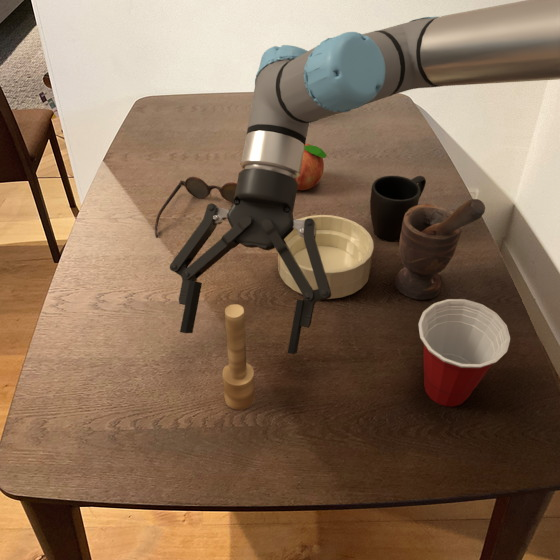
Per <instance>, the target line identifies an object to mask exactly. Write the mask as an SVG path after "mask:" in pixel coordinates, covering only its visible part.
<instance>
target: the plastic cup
mask: <svg viewBox="0 0 560 560" xmlns="http://www.w3.org/2000/svg"><path fill="white" fill-rule="evenodd" d="M417 325H418V331H419V338H420V341H421V342H422V343H423V384H424V391H425V393H426V395H427V397H428V398H429V399H430V400H431V401H433V402H434V403H436V404H438V405H440V406H444V407H453V408H454V407H457V406H460V405H462V404H463V403H464V402H465V401H466V400H467V399H469V398H470V396H471V395H472V394H473V392H474V390H475V389H476V388H477V387H478V386H479V384H480V383H481V381H482V380H483V378H484V377H485V375H486V374H487V373H488V372H489V370H490V368H491V367H492V366H493V365H494V364H496V363H497V362H498V361H499V360H500V359H501V358H503V356H504V355H505V354H506V353H508V350H509V346H510V342H511V335H510V332H509V329H508V325H507V324H506V323H505V321H504V320H503V319H502V318H501V317H500V315H499V314H498V313H497V312H495V311H494V310H492V309H491V308H489V307H487V306H486V305H484V304H482V303H479V302H475V301H473V300H469V299H466V298H464V299H463V298H448V299H447V298H446V299H444V300H441V301H437V302H434V303H433V304H431V305H430V306H428V307H427V308H426V309H425V310H423V312H422V314H421V316H420V318H419V321H418V323H417Z"/></svg>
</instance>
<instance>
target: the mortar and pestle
mask: <svg viewBox="0 0 560 560" xmlns="http://www.w3.org/2000/svg"><path fill="white" fill-rule="evenodd" d="M485 211H486V205H485V203H484V202H483V201H482V200H480V199H478V198H471V199H469V200H467V201H465V202H464V203H463V204H461V205H460V206H459V207H458V208H456V210H454V211H453V210H451V209H450V208H447V207H444V206H440V205H438V204H434V203H424V204H422V203H421V204H418V205H417V206H414V207H412V208H410V209H409V210H408V211H407V212H406V213H405V216H404V219H403V224H402V230H401V235H400V240H399V244H398V245H399V246H398V247H399V249H398V250H399V255H400V260H401V262H402V265H403V266H404V267H403V268H401V269H400V270H399V271H398V273H397V274H396V277H395V280H394V286H395V288H396V289H397V291H398V292H399V293H400V294H402V295H403V296H405V297H407V298H410V299H413V300H420V301H423V300H432V299H435V298H436V297H437V296H438V295H439V294H440V293H441V290H442V281H441V278H440V275H439V273H442V272H443V270H445V269H446V268H447V266H448V265H449V263H450V261H451V260H452V258H453V257H454V254H455V252H456V249H457V246H458V243H459V239H460V237H461V234H462V232H463V227H465V226H468V225H470V224H471V223H474V222H476V221H478V220H480V219H481V217H482V216H483V215H484V214H485Z"/></svg>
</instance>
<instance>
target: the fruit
mask: <svg viewBox="0 0 560 560" xmlns="http://www.w3.org/2000/svg"><path fill="white" fill-rule="evenodd" d="M326 157H327V153H326V151H324V150H323V149H322V148H321V147H319V146H316V145H313V144H309V143H306V142H305V148H304V154H303V159H302V165H301V171H300V176H299V177H298V178H296V179H295V180H296V181H297V183H298V187H297V191H307V190H310V189H312V188H313V187H315V186H317V184H319V182H320V181H321V179H322V177H323V175H324V168H325V162H324V159H325V158H326Z"/></svg>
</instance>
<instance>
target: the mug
mask: <svg viewBox="0 0 560 560" xmlns="http://www.w3.org/2000/svg"><path fill="white" fill-rule="evenodd" d="M426 184H427V179H426V177H424V175H417V176H415V177H413V178H412V179H410V178H408V177H406V176H400V175H384V176H381V177H378V178H377V179H375V180H374V181H373V182H372V185H371V191H370V200H369V209H370V220H371V225H372V230H373V234H374V236H375V237H376V238H377V239H379V240H381V241H384V242H390V243H394V242H398V241H400V235H401V230H402V224H403V219H404V216H405V213H406V212H407V211H408V210H409V209H410V208H412V207H414V206H417V205H419V201H420V198H421V196H422V194H423V192H424V190H425V187H426Z"/></svg>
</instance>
